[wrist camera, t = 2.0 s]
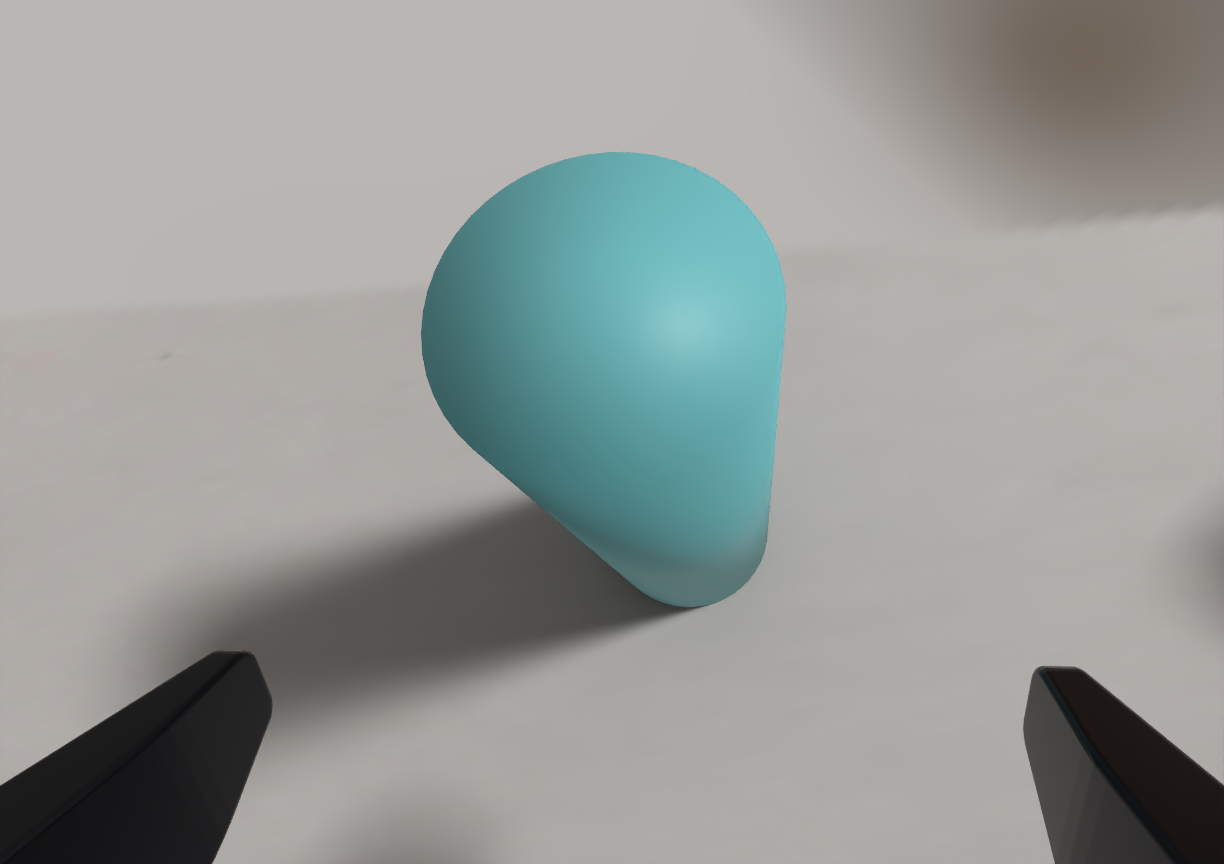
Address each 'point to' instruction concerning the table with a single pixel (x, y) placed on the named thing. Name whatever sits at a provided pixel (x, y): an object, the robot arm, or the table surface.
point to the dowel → (620, 363)
